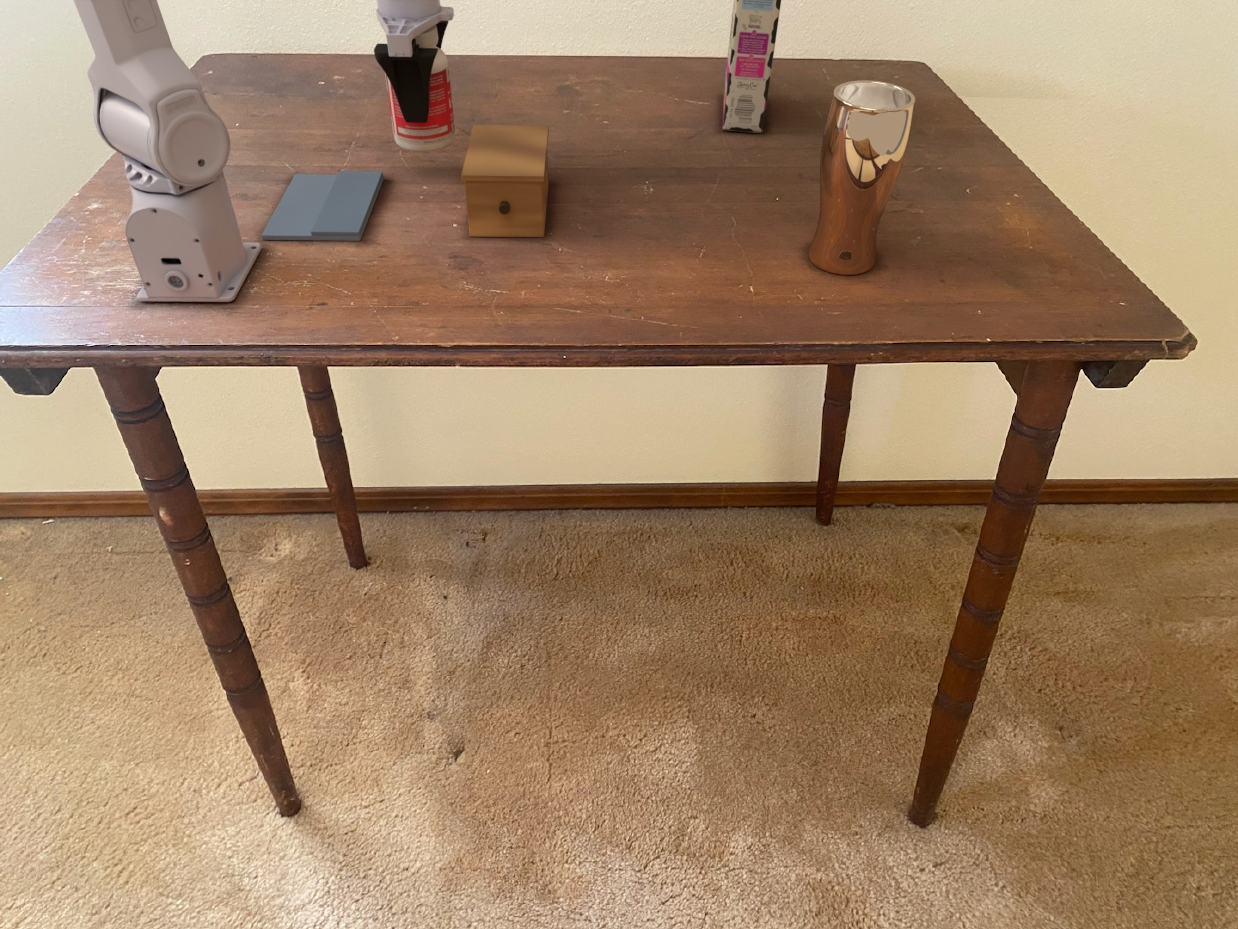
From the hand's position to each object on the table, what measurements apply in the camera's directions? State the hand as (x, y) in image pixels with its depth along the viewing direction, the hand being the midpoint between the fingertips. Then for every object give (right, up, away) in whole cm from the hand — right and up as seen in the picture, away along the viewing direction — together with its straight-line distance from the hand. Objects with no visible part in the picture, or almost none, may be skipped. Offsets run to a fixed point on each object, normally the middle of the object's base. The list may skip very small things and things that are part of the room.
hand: (421, 108), depth 93 cm
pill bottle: (0, -3, +2) cm, 4 cm away
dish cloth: (-9, -10, -2) cm, 14 cm away
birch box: (+9, -10, -1) cm, 14 cm away
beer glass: (+40, -17, -7) cm, 44 cm away
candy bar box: (+35, +6, +18) cm, 40 cm away
